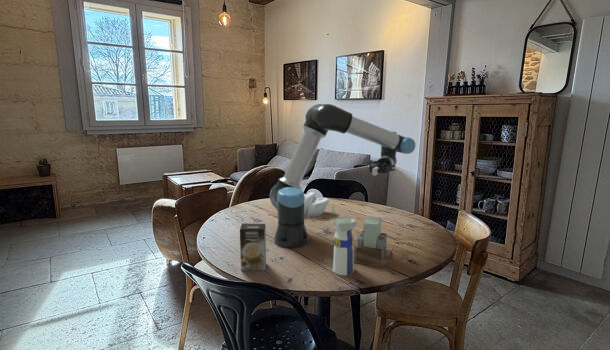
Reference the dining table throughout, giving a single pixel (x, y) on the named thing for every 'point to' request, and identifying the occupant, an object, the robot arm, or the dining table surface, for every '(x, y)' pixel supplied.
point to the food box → (253, 246)
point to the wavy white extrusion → (314, 205)
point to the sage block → (372, 231)
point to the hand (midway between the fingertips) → (374, 172)
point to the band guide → (372, 252)
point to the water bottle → (343, 245)
